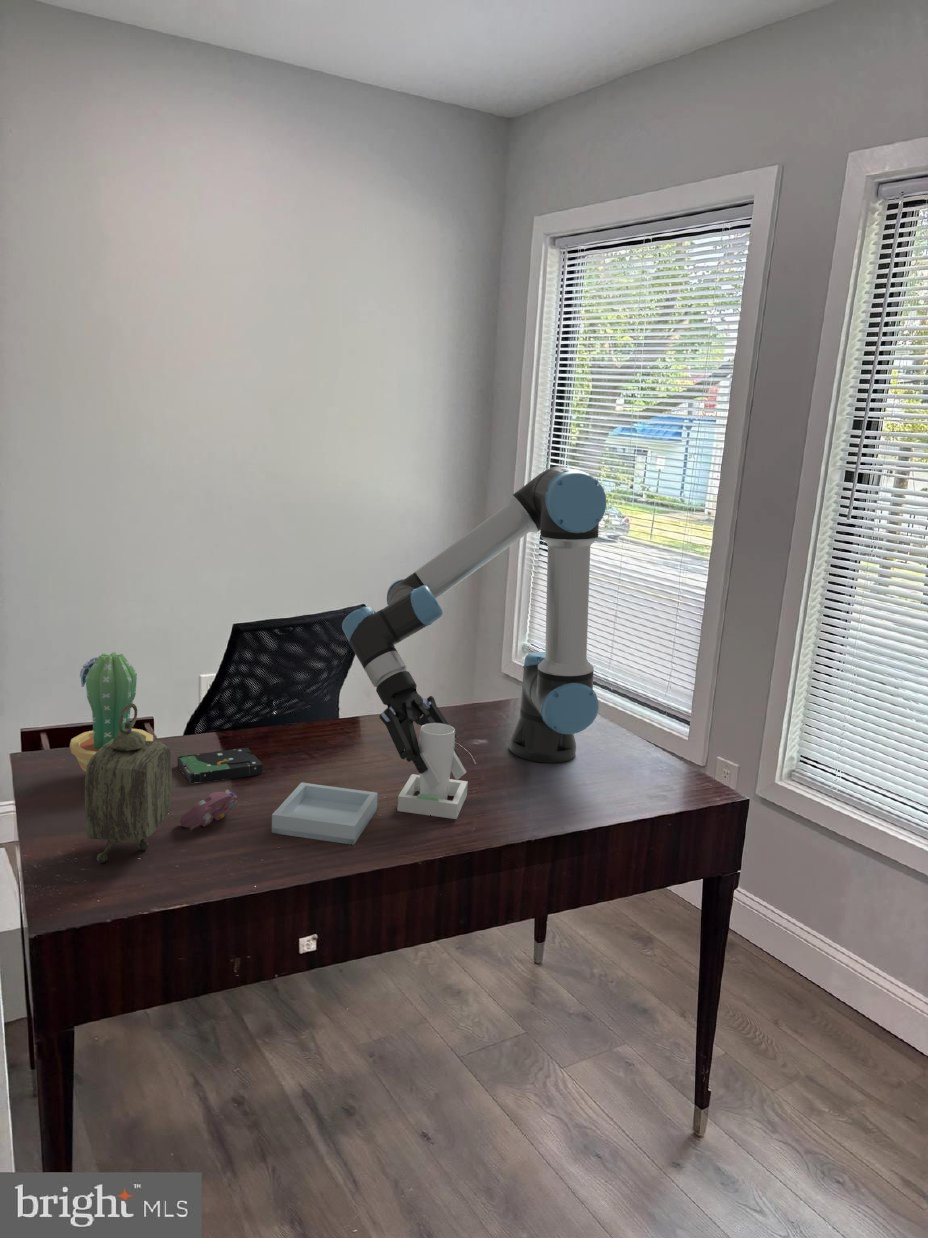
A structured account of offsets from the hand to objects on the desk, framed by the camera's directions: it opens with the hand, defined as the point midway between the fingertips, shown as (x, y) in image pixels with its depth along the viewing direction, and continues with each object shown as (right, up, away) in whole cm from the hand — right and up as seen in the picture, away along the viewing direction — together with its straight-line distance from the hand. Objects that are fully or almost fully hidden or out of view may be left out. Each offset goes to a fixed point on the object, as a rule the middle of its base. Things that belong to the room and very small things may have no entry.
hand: (448, 780), depth 176 cm
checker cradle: (-3, -5, +3) cm, 7 cm away
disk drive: (-47, -1, +13) cm, 49 cm away
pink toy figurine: (-42, -6, -11) cm, 44 cm away
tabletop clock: (-52, -8, -22) cm, 57 cm away
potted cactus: (-66, -1, +4) cm, 66 cm away
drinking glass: (-3, -5, +3) cm, 7 cm away
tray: (-22, -6, -7) cm, 24 cm away
